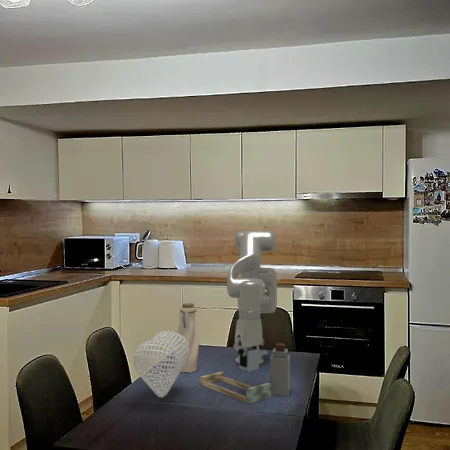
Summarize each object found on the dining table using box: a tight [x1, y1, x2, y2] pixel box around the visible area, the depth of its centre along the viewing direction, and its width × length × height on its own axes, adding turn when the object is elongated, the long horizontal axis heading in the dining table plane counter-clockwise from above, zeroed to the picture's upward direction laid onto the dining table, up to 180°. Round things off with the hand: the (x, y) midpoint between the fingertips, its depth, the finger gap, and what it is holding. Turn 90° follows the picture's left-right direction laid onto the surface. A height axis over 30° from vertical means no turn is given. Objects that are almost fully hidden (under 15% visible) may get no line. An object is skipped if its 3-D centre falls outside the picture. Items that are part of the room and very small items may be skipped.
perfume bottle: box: [269, 342, 291, 397], centre depth 205 cm, size 7×7×18 cm
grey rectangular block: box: [238, 347, 260, 372], centre depth 200 cm, size 5×5×7 cm
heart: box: [133, 330, 189, 398], centre depth 198 cm, size 28×16×22 cm, turn 168°
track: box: [199, 371, 272, 405], centre depth 206 cm, size 11×28×5 cm, turn 40°
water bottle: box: [177, 302, 200, 374], centre depth 232 cm, size 10×9×28 cm
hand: (249, 364), depth 200 cm, fingers closed on grey rectangular block, 5 cm apart
